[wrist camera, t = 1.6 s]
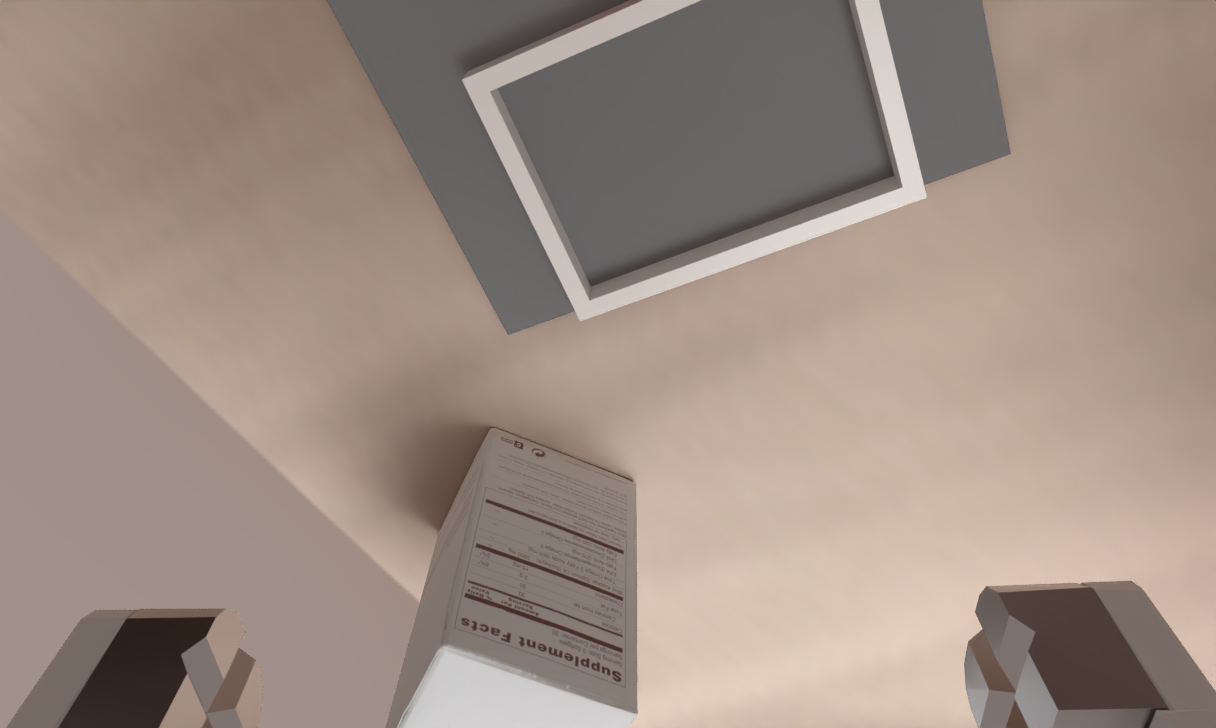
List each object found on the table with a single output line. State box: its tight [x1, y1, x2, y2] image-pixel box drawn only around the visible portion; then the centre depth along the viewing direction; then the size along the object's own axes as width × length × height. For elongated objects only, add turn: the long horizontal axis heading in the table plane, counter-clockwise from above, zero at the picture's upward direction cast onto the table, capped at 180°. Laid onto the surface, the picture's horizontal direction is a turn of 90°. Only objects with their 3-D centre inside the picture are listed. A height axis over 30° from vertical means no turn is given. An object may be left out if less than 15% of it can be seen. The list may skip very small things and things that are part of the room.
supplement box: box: [386, 428, 638, 728], centre depth 36 cm, size 7×7×13 cm
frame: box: [462, 0, 927, 321], centre depth 31 cm, size 13×10×1 cm
